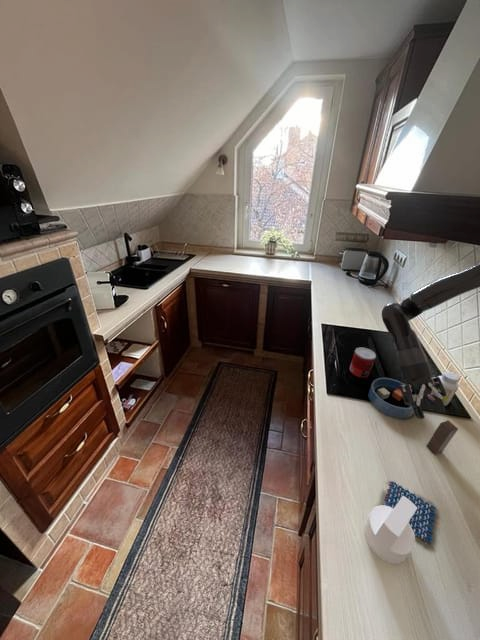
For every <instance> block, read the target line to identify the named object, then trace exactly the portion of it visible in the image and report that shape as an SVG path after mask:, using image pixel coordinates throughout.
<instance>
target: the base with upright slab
mask: <svg viewBox="0 0 480 640" xmlns="http://www.w3.org/2000/svg"><path fill="white" fill-rule="evenodd" d="M416 510H417V507H416V506H415V505H414V504H413V503H412V502H411V501H410V500H409V499H407V498H406V497H405V496H402V497H401V499H400V500H399V502H398V503H397V504H396V506H395V507H394V509H393V508H391V507H389V505H388V506H385V504H384V505H383V504H379V505H376V506H374V507H373V508H372V509H371V511H370V512H369V514H368V516H367V518H366V519H365V521H364V524H363V534H364V537H365V540H366V542H367V544H368V546H369V548H370V549H371V550H372V551H373V553H374V554H375V555H376V556H377V557H379V558H380V559H381V560H383V562H386V563H389V564H391V565H392V564H393V565H398V564H401V563H403V562H404V561H405V560H406V559H407V557H408V556H409V555H411V553H412V552H413V551H414V550H415V546H416V536H414V532H413V530H412V528H411V526H410V524H409V523H408V522H409V520H410V519H411V517H412V516H413V514H414V513H415V511H416ZM415 514H416V513H415Z"/></svg>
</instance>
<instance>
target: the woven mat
mask: <svg viewBox="0 0 480 640" xmlns="http://www.w3.org/2000/svg"><path fill="white" fill-rule="evenodd" d="M388 486H389V487H388V488H387V489H386V490H387V491H388V492H387V493H386V494H385V496H384V501H385V502H384V504H382V505H385V506H389V507H391V508H393V509H394V507H395V506H396V504H397V503H398V502H399V500H400V499H401V497H402V496H405V497H406V498H407V499H409V500H410V501H411V502H412V503H413V504H414V505H415V506H416V507H417V510H416V511H415V513H414V514H413V516H412V517H411V519H410V520H409V522H408V523H409V524H410V526H411V528H412V530H413V532H414V536H415V537H418V538H419V539H421V540H422V541H424V543H425V544H426V545H431V542H432V540H433V537H432V535H433V533H434V531H433V528H434V527H435V525H434V521H435V516H436V513H435V510H436V509H437V507H435V506H434V505H432V504H431V503H429V501H428V500H427V501H426V500H425V499H422V497H421V496H418V495H417V494H416V493H413V492H412V491H411V490H410V491H409V489H408V488H407V489H406V487H402V486H403V485H402V484H400V485H399V483H397V482H396V481H392V480H391V481H389V483H388Z"/></svg>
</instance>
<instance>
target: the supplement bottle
mask: <svg viewBox="0 0 480 640" xmlns="http://www.w3.org/2000/svg"><path fill="white" fill-rule="evenodd" d="M437 377H439V378H440V380H441V382H442V384H443V387H444V389H445V392H446V394H447V395H446V396H444V397H443V399H442V400H443V403H444V406H445V407H447V406H448V405H449V404H450V403H451V401H452V399H453V397H454V396H455V394H456V392H457V391H458V389H459V387H460V386H459V383H458V382H459V380H460V376H459V375H458V374H457V373H455V372H452V371H449V370H445V371H443V372H442V374H441V375H438V376H437ZM439 392H441V391H440V389H439ZM427 398H428V399H429V400H430V401H431V402H432V403H434V401H433V400H435V399H433V398H432V397H431V396H430V395H428V394H427Z"/></svg>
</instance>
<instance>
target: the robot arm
mask: <svg viewBox="0 0 480 640" xmlns="http://www.w3.org/2000/svg"><path fill="white" fill-rule="evenodd" d="M477 289H480V263H478V264H475V265H474V266H472V267H470V268H467V269H465V270H462V271H459V272H455V273H453V274H449V275H446V276H445V275H444V276H443V277H440V278H437V279H434V280H433V281H431V282H429V283H427V284H426V285H423V286H421V287H419V288H418V289H416V290H415V291H413V292H412V293H410V295H409V297H407V298H405V299H403V300H401V301H399V302H390V303H386V304H385V305H384V306H383V307H382V309H381V313H380V315H381V319H382V322H383V325H384V326H385V328H386V330H387V332H388V334H389V336H390V337H391V341H392V344H393V346H394V349H395V351H396V352H395V353H396V357H397V361H398V364H399V366H400V370H401V373H402V375H403V379H404V380H406V381H407V384H405V385H400V389H401V392H402V396H403V399H402V400H403V402H404V404H405V406H409V405H411V406H412V408H413V411H414V413H413V414H414V416H415V418H416V419H419V420H424V419H425V414H424V410H423V408H422V406H421V402H422V401H421V400H423V398H424V397H425V396H428V395H430V396H431V397H432V398H433V399H435V400H433V401H434V402H433V404H434V406H435V409H436V412H437V413H441V414H442V413H443V414H445V413H446V412H447V410H446V406H444V403H443V400H442V399H443V397H444V396H446V395H447V394H446V392H445V389H444V387H443V384H442V382H441V380H440V378H439V377H438V376H432V375H433V373H432V369H431V367H430V365H429V362H428V359H427V356H426V354H425V352H424V349H423V347H422V345H421V343H420V339H419V337H418V334H417V332H416V331H415V330H414V329H412V327H411V324H410V321H411V320H413V319H415V318H417V317H418V316H420V315H421V314H423V313H425V312H427V311H430V310H432V309H434V308H436V307H438V306H440V305H442V304H444V303H446V302H449V301H450V300H452V299H454V298H457V297H459V296H461V295H463V294H466V293H469V292H471V291H473V290H477ZM439 389H440V391H441V392H439ZM415 394H416V395H415ZM407 397H408V398H409V401H408V398H407ZM415 399H416V402H415Z"/></svg>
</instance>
